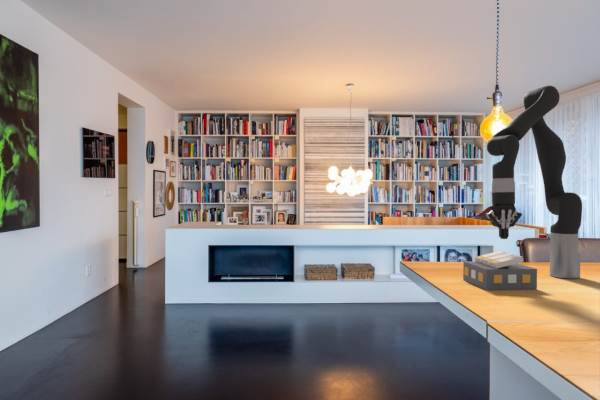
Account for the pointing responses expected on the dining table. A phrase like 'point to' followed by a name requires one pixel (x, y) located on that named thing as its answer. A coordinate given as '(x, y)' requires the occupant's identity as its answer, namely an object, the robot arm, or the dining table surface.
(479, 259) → the white rectangular block
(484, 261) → the rocker
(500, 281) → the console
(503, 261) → the rocker
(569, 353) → the dining table surface
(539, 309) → the dining table surface
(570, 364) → the dining table surface
